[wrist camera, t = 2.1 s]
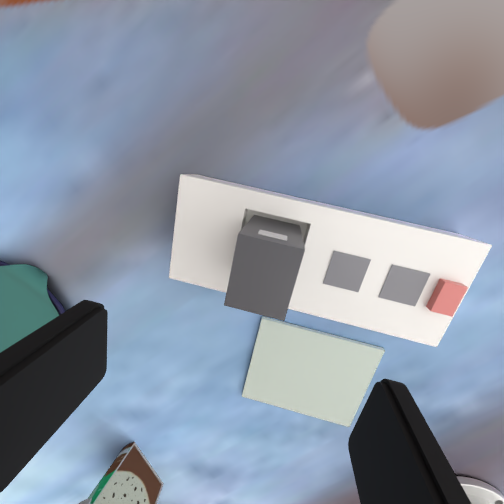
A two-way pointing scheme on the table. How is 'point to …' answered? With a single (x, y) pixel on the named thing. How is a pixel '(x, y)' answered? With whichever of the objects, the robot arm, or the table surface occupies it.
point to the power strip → (332, 258)
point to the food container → (128, 481)
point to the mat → (310, 371)
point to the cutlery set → (24, 302)
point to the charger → (265, 267)
